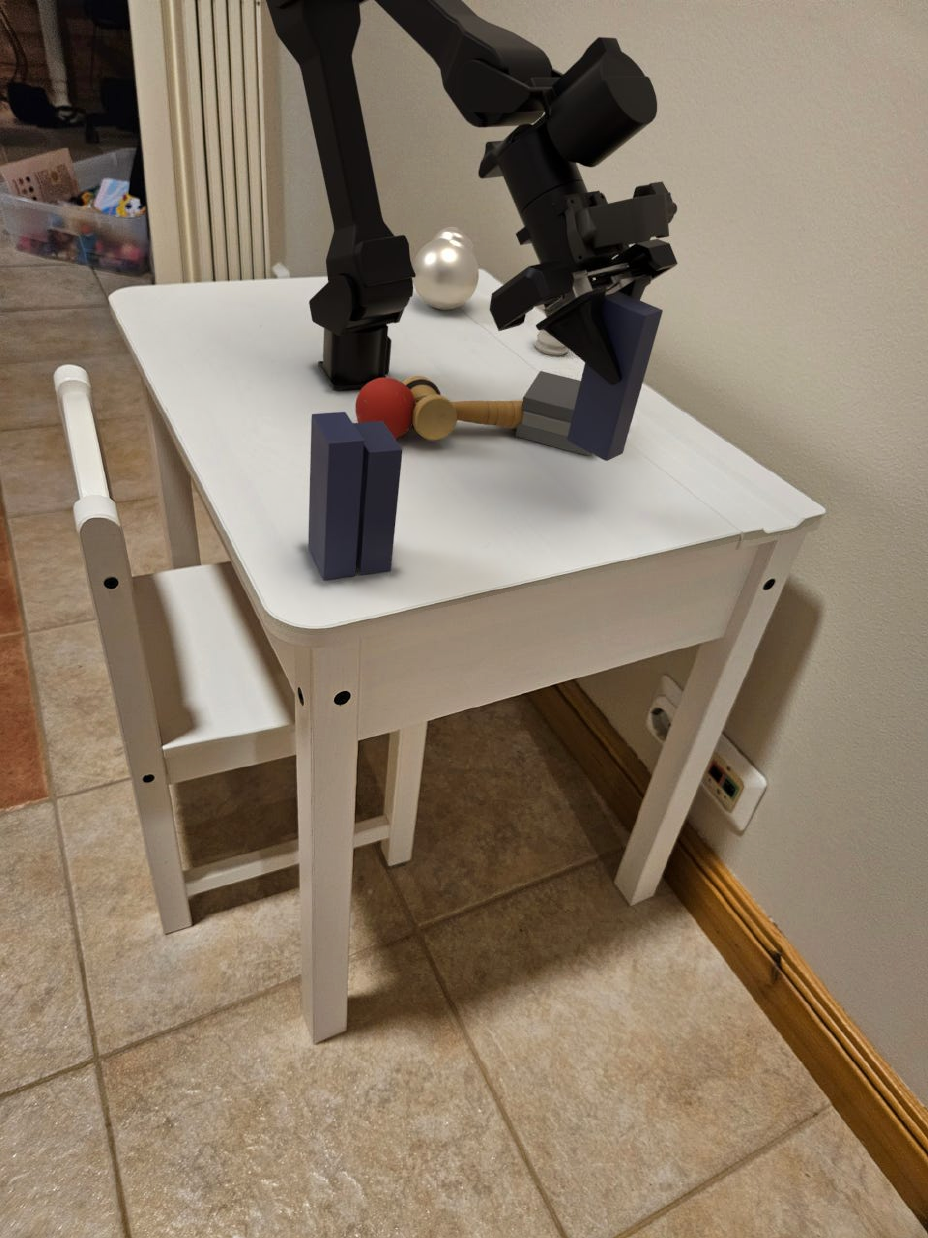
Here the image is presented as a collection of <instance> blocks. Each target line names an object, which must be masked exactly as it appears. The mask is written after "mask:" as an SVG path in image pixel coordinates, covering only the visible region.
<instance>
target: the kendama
mask: <svg viewBox="0 0 928 1238" xmlns="http://www.w3.org/2000/svg"><path fill="white" fill-rule="evenodd" d="M522 401H523V400H459V401H451V400H450V399H449V398H447V397H446V396H444V395H442V394H441V391H440V389H439V387H438V386H437V384H436V383H435V382H434V381H432V380H431V379H429V378H427V377H425V376H421V375H414V376H411V377H408V378H406V379H405V380H404V381H401V380H398V379H396V378H392V377H387V376H386V377H383V378H377V379H374V380H372V381H370V382H368V383H367V384H366V385H365V386H364V387H363V388H360V390H359V392H358V394H357V397H356V400H355V405H354V406H355V408H354V409H355V410H354V411H355V417H356V420H357V423H363V422H377V421H383V422H384V424H385V425H386V427H387V428H388V429H389V431H390V432H391V434H392V435H393V437H394V438H395V439H396V440H397V439H398V438H401V437H402V436H404V435H406V434H408V433H410V432H413V431H415V432H416V433H417V434H418V435H419V436H421V437H422V438H424V439H425V440H428V441H440V440H443V439H445V438H447V437H448V436H449V435H450V434H451V433H452V432H454V429H455V427H456V425H457V422H458V421H460V422H465V423H470V424H471V423H472V424H478V425H487V426H494V427H501V428H508V429H515V430H517V425H518V423H522V419H523V413H524V411H523V410H521V406H522ZM412 426H413V428H412V429H411V427H412Z"/></svg>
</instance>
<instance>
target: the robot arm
mask: <svg viewBox="0 0 928 1238" xmlns="http://www.w3.org/2000/svg"><path fill="white" fill-rule="evenodd" d="M369 1H370V0H265V2H266V5H267V8H268V9H267V10H268V12H269V16H270V18H271V21H272V25H273V28H274V31H275V34H276V36H277V38H278V39H279V40H280V41H281V43H282V45H283V46H284V47H285V48H286V49H287V51H288V52H289V53H290V55H291V57H293V59H294V60H295V61H296V63H297V65H298V66H299V69H300V73H301V78H302V82H303V87H304V91H305V96H306V101H307V102H306V103H307V106H308V110H309V115H310V120H311V124H312V129H313V134H314V135H313V136H314V139H315V143H316V148H317V153H318V159H319V162H320V163H319V164H320V168H321V173H322V176H323V182H324V187H325V191H326V197H327V201H328V205H329V206H328V207H329V209H330V210H329V211H330V215H331V220H332V226H333V233H332V237H331V240H330V243H329V247H328V250H327V254H326V258H325V267H326V276H327V282H326V284H325V285H324V286H323V287H321V288H320V289H319V290H318V292H316V293H315V294H314V295H313V297H311V298H310V299H309V301H308V305H309V311H310V316H311V321H312V322H313V323H314V324H316V325H318V326H320V328H323V345H322V346H323V347H322V349H323V350H322V360H318V361H317V367H318V368H319V371H320V372H321V374H322V375H323V376H324V377H325V379H326V380H327V382H328V383H329V385H330V386H331V388H332V389H333V390H353V389H362V388H363V387H364V386H365V385H366V384H367V383H368V382H370V381H372V380H374V379H377V378H383V377H387V376H388V374H389V373H390V364H391V352H392V342H393V341H392V338H391V337H390V336H389V326H388V325H391V324H398V323H399V324H400V321H401V319H402V316H403V314H404V311H405V309H406V308H407V306H408V304H409V302H410V299H411V298H412V297H413V296H414V284H413V280H412V278H414V277H416V274H415V272H414V270H413V268H412V267H413V263H412V261H411V253H410V242H409V241H408V238H407V237H406V235H405V234H400V235H395V234H394V233H393V232H392V230H391V229H390V227H389V226H388V225H387V224H386V222H385V221H384V217H383V214H382V209H381V204H380V198H379V193H378V188H377V183H376V178H375V172H374V166H373V161H372V157H371V156H372V155H371V151H370V147H369V140H368V135H367V130H366V125H365V120H364V114H363V109H362V105H361V104H362V103H361V99H360V93H359V89H358V88H359V87H358V83H357V78H356V73H355V67H354V61H353V54H354V49H355V47H356V43H357V39H358V36H359V32H360V28H361V24H362V16H361V6H362V5H363V4H365V3H367V2H369ZM374 2H375V3H376V4H377V5H378V6H379V7H380V8H382V10H384V12H385V13H386V14H387V15H389V17H390V18H391V19H392V20H394V22H396V24H397V25H398V26H399V27H400V28H401V29H402V30H403V31H404V32H405V33H406V34H408V36H409V37H410V38H411V39H412V40H413V41H414V42H415V43H416V44H417V45H418V46H420V48H421V49H422V50H423V51H424V52H425V53H427V55H428V56H429V57H430V58H431V59H432V60H433V61H434V63H435V64H436V66H437V67H438V69H439V72H440V78H441V82H442V87H443V89H444V91H445V93H446V94H447V96H448V97H449V99H450V100H451V102H452V103H453V105H454V106H455V107H456V109H457V110H458V111H459V113H460V114H461V116H462V117H463V119H464V120H465V121H466V123H468V124H469V125H471V126H473V127H475V128H480V129H481V128H501V127H516V128H514V129H513V130H512V131H511V132H510V133H509V134H508V135H507V136H506V137H505V138H504V139H502V140H490V141H487V142H486V143H485V147H484V154H483V156H482V159H481V161H480V163H479V167H478V171H477V175H478V177H479V178H480V179H490V178H491V179H492V178H500V177H503V180H504V182H505V184H506V186H507V189H508V191H509V194H510V196H511V199H512V201H513V203H514V205H515V208H516V210H517V213H518V215H519V218H520V221H521V223H522V224H523V225H522V226H523V227H522V228H521V229H519V231H517V232H516V233H515V237H516V238H517V241H518V243H519V245H520V246H524V245H530V244H531V247H532V248H533V251H534V253H535V255H536V258H537V261H538V263H537V264H533V265H528V266H526V267H525V268H524V269H523V270H521V271H520V272H519V273H518V274H516V275H514V276H513V277H512V278H510V279H509V280H508V281H507V282H505V283H504V284H503V285H501V286H500V287H498V288H497V289H496V290H495V291H493V292H491V296H490V304H489V312H490V314H491V317H492V319H493V322H494V324H495V326H496V329H497V331H498V332H501V331H505V330H508V329H512V328H516V327H519V326H521V325H523V324H524V323H525V320H526V316H527V314H528V313H529V312H531V311H532V310H534V309H535V307H538V306H542V305H543V306H544V308H543V313H544V316H545V318H544V319H542V320H541V321H539V322H538V323H536V324H535V328H536V329H537V331H539V332H540V331H541V330H544V331H546V332H547V333H549V334H550V335H551V336H553V337H554V338H555V339H556V340H558V341H559V342H560V343H562V344H563V345H564V346H566V347H567V348H568V349H569V351H571V352H572V353H573V354H574V355H575V356H577V357H578V358H579V359H580V360H581V361H582V362H584V364H585V363H586V364H587V365H588V366H589V367H591V368H592V369H593V370H594V371H595V372H596V373H597V374H599V375H600V376H601V377H602V378H603V379H604V380H605V381H607V382H608V383H609V384H610V385H613V384H615V383H617V382H619V381H621V379H622V376H621V372H620V368H619V364H618V361H617V358H616V355H615V352H614V349H613V346H612V343H611V340H610V337H609V334H608V331H607V328H606V325H605V322H604V319H603V316H602V311H603V306H604V300H605V295H608V294H612V293H615V292H621V293H623V294H626V295H628V296H630V297H633V298H635V299H638V300H640V301H641V299H642V297H643V295H644V292H645V290H646V287H648V286H649V285H650V284H651V283H652V281H654V280H655V279H657V278H659V277H661V276H662V275H663V274H665V273H667V272H668V271H670V270H671V269H673V268H675V267H676V266H677V265H678V261H677V258H676V256H675V253H674V251H673V248H672V246H671V243H670V242H667V241H665V240H662V239H665V238H668V237H670V229H669V227H670V226H669V224H670V223H671V222H672V220H673V219H674V216H675V215H676V214H677V211H678V205H677V204H676V203H675V202H674V201H673V198H672V195H671V193H672V192H669V191H668V188H667V187H666V184H665V183H664V181H663V180H662V181H655V182H650V183H648V184H643V185H638V186H636V187H635V188H634V191H633V194H632V195H633V196H632V198H628V199H623V200H618V201H614V202H608V200H607V197H606V195H605V194H604V192H601V191H600V190H594V191H593V190H592V191H588V188H587V186H586V184H585V182H584V179H583V176H582V174H581V171H580V169H579V166H578V164H579V165H581V166H583V167H586V168H596V167H598V166H600V164H601V163H603V162H604V161H605V160H606V159H608V158H609V157H610V156H611V155H613V154H614V153H615V152H616V151H618V150H619V149H620V148H621V147H623V146H624V145H625V144H626V143H627V142H629V141H630V140H631V139H633V138H634V137H635V136H636V135H637V134H638V133H640V132H641V131H642V130H643V129H645V128H646V127H647V126H648V125H650V124H651V123H652V122H653V121H654V120H655V118H656V117H657V114H658V99H657V94H656V90H655V88H654V85H653V83H652V80H651V78H650V77H649V76H646V75H645V73H644V71H643V70H642V69H641V67H640V66H639V65H638V64H637V63H636V62H635V60H634V59H633V58H631V57H630V56H629V55H628V54H627V53H625V52H624V51H622V49H621V46H620V44H619V41H618V39H617V38H616V37H609V36H608V37H607V36H597V38H596V39H595V40H594V41H593V42H592V43H591V44H589V46H588V47H587V48H586V49H585V51H584V52H583V54H582V55H581V57H579V59H578V60H577V61H576V62H575V63H573V65H572V66H571V67H570V68H568V70H566V72H564V73H562V72H560V71H559V70H557V69H554V68H553V65H552V63H551V60H550V58H549V57H548V55H547V54H546V52H545V51H544V49H542V48H540V47H539V46H538V45H536V44H534V43H533V42H531V41H529V40H528V39H525V38H524V37H522V36H521V35H519V34H517V33H515V32H513V31H512V30H509V29H506V28H505V27H504V28H503V27H501V26H499V25H496V24H494V23H491V22H489V21H487V20H486V19H483V18H482V17H480V16H479V15H478V14H476V13H475V12H474V11H473V10H472V8H470V7H469V5H467V4H466V3H465V2H464V1H463V0H374ZM651 238H654V239H651Z"/></svg>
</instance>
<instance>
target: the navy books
mask: <svg viewBox="0 0 928 1238" xmlns="http://www.w3.org/2000/svg"><path fill="white" fill-rule="evenodd" d="M310 421H311V423H310V424H311V425H310V428H311V429H310V460H309V461H310V462H309V463H310V465H309V469H310V470H309V498H308V499H309V500H308V501H309V502H308V503H309V504H308V536H307V537H308V539H307V541H308V543H307V548H308V551H309V553H310V555H311V557H312V559H313V561H314V563H315V565H316V567H317V569H318V571H319V574H320V575H321V578H322V580H323V581H328V580H336V579H341V578H348V577H349V578H350V577H355V576H356V569H357V571H358V574H359V576H365V575H371V574H372V575H373V574H379V573H384V572H386V573H387V572H391V571H392V563H393V553H394V552H393V551H394V543H395V533H396V524H397V523H396V521H397V512H398V511H397V510H398V503H399V493H400V492H399V491H400V481H401V471H402V461H403V449H404V448H402V446H401V445H400V444H399V442H398V441H397V438H396V439H395V438H394V437H393V435H392V434H391V432H390V431H389V429H388V428H387V427H386V425H385V424H384V422H383V421H377V422H363V423H358V422H353V421H352V420H351V418H350V417H349V415H348V413H347V412H346V411H335V412H321V413H312V414H311V420H310Z"/></svg>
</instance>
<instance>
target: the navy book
mask: <svg viewBox="0 0 928 1238" xmlns="http://www.w3.org/2000/svg"><path fill="white" fill-rule="evenodd" d="M663 311H664V310H663V309H661V308H660V307H657V306H654V305H651V304H649V303H648V302H644V301H642V300H641V299H640V300H638V299H635V298H633V297H630V296H628V295H626V294H623V293H621V292H615V293H612V294H608V295H605V300H604V306H603V311H602V316H603V319H604V322H605V325H606V328H607V331H608V334H609V337H610V340H611V343H612V346H613V349H614V352H615V355H616V358H617V361H618V364H619V368H620V372H621V376H622V379H621V381H619V382H617V383H615V384H613V385H610V384H609V383H608V382H607V381H605V380H604V379H603V378H602V377H601V376H600V375H599V374H597V373H596V372H595V371H594V370H593V369H592V368H591V367H589V366H588V365H587V364H586V363H585V362H584V365H583V370H582V374H581V378H580V381H581V382H580V386H579V390H578V395H577V399H576V403H575V408H574V412H573V416H572V420H571V425H570V429H569V433H568V437H567V441H569V442H571V443H573V444H575V445H577V446H579V447H581V448H582V449H584V450H586V451H588V452H590V454H592V455H594V456H595V457H597V458H599V459H601V460H603V461H605V462H608V461H610V460H613V459H614V458H616V457H619V456H621V455H623V454H624V451H625V447H626V443H627V440H628V436H629V432H630V429H631V426H632V423H633V418H634V416H635V411H636V408H637V404H638V400H639V397H640V394H641V390H642V386H643V383H644V379H645V376H646V373H647V369H648V365H649V362H650V359H651V355H652V351H653V347H654V345H655V340H656V337H657V333H658V330H659V326H660V322H661V319H662V316H663Z"/></svg>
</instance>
